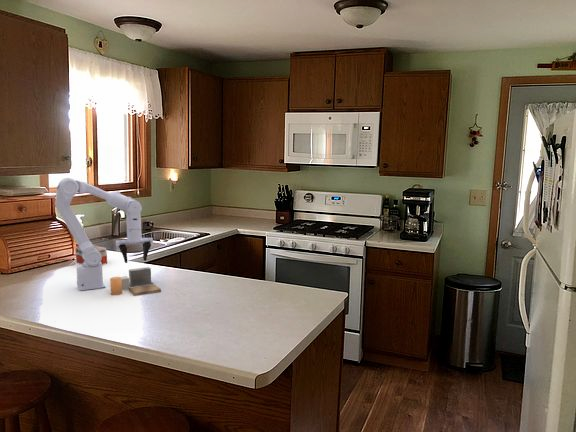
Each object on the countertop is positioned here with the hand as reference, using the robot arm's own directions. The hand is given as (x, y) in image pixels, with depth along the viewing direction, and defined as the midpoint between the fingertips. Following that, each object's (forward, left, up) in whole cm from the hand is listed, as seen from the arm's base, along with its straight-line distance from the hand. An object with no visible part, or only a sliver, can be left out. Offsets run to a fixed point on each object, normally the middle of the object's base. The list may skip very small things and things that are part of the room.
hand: (135, 261), depth 197 cm
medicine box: (-11, +48, -9) cm, 50 cm away
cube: (-7, -9, -8) cm, 14 cm away
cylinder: (-11, -15, -8) cm, 20 cm away
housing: (0, -6, -8) cm, 10 cm away
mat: (-1, -17, -8) cm, 19 cm away
